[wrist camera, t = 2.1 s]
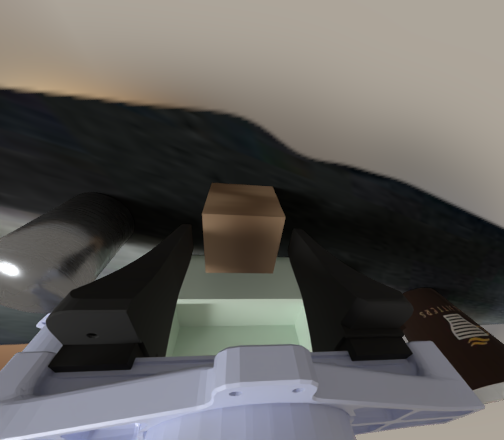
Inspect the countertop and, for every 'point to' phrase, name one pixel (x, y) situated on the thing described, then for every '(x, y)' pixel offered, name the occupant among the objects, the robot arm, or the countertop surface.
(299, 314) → the green tote
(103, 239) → the grey metal cylinder
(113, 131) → the countertop surface
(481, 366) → the coffee mug
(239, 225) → the brown cube
